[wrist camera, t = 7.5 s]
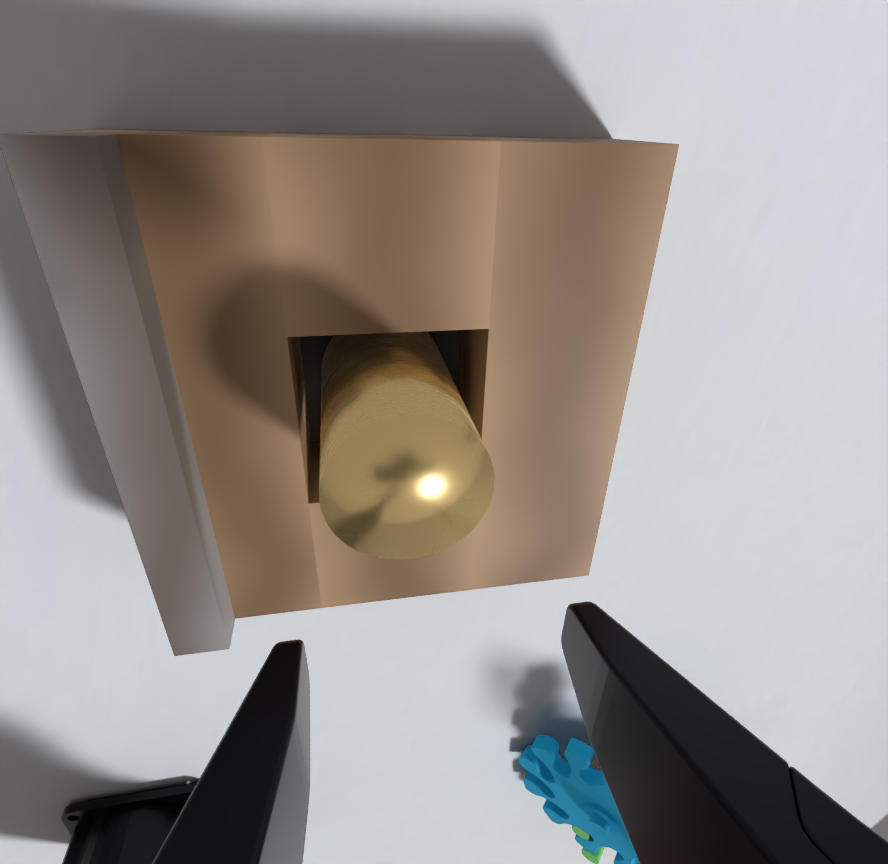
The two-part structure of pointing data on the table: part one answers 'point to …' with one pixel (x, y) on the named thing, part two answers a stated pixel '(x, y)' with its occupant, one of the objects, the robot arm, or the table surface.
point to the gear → (577, 797)
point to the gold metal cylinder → (398, 448)
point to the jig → (339, 313)
